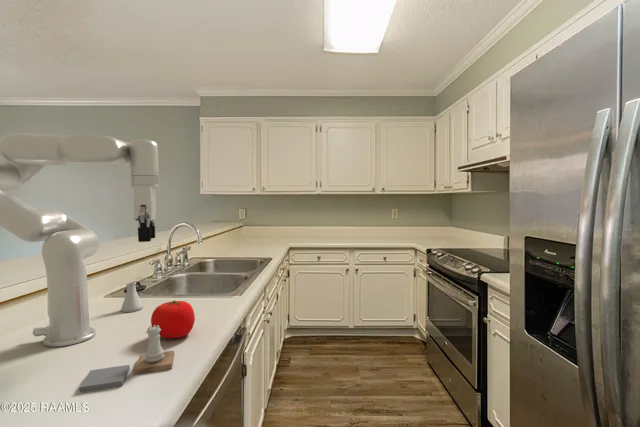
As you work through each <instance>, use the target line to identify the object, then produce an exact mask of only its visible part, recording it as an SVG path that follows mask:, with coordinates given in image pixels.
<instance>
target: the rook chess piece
mask: <svg viewBox="0 0 640 427" xmlns="http://www.w3.org/2000/svg"><path fill="white" fill-rule="evenodd" d="M153 326H154V327H152V326H151V325H150V326H148V327H147V330H146V334H148V335H147V336H148V337H147V339H148V344H147V345H148V346H147V349H146V352H145V353H144V355H145V361H146V362H149V363H153V362H158V361H160V360H162V359H163V358H164V356H165V355H164V352H165V350H164V349H163V347H162V346H161V345H162V344H161V340H160V338H161V336H160V335H159V332H160V331H161V329H160V328H159V325H157V327H156V325H153Z"/></svg>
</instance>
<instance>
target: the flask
mask: <svg viewBox="0 0 640 427" xmlns="http://www.w3.org/2000/svg"><path fill="white" fill-rule="evenodd" d="M136 285H137V281H131V282H127V283H126V284H125V286H126V294H125V297H124V300H123V303H122V305H121V308H120V312H123V313H131V312H132V313H133V312H137V311H140V310H142V309H143V308H144V306H143V305H144V304H143V303H142V301H141V299H140V297H139V294H138V292H137V289H136Z"/></svg>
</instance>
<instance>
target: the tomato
mask: <svg viewBox="0 0 640 427" xmlns="http://www.w3.org/2000/svg"><path fill="white" fill-rule="evenodd" d="M195 320H196V317H195V312H194V308H193V307H192V305H191V303H189V302H187V301H184V300H172V301H168V302H165V303H164V302H163V303H162V304H160V305H157V307H156V308H154V310H153V312H152V314H151V318H150V326H152V327H154V326H153V325H156V327H157V325H159V328H160V329H161V331H160V332H159V335H160V338H161V337H162V338H165V339H179V338H182V337H185V336H187V335H188V334H189V333H191V332H192V330H193V328H194V325H195V322H196V321H195Z"/></svg>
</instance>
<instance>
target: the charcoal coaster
mask: <svg viewBox="0 0 640 427" xmlns="http://www.w3.org/2000/svg"><path fill="white" fill-rule="evenodd" d="M130 370H131V369H130V364H126V365H119V366H111V367H105V368H97V369H91V370H89V372H88V373H87V375H86V376H85V378H84V379H83V381H82V382H81V384H80V385H79V387H78V394H81V393H83V394H84V393H89V392H95V391H101V390H107V389H114V388H119V387H120V388H121V387H123V385H124V383H125V381H126V379H127V377H128V374H129V372H130Z"/></svg>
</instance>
